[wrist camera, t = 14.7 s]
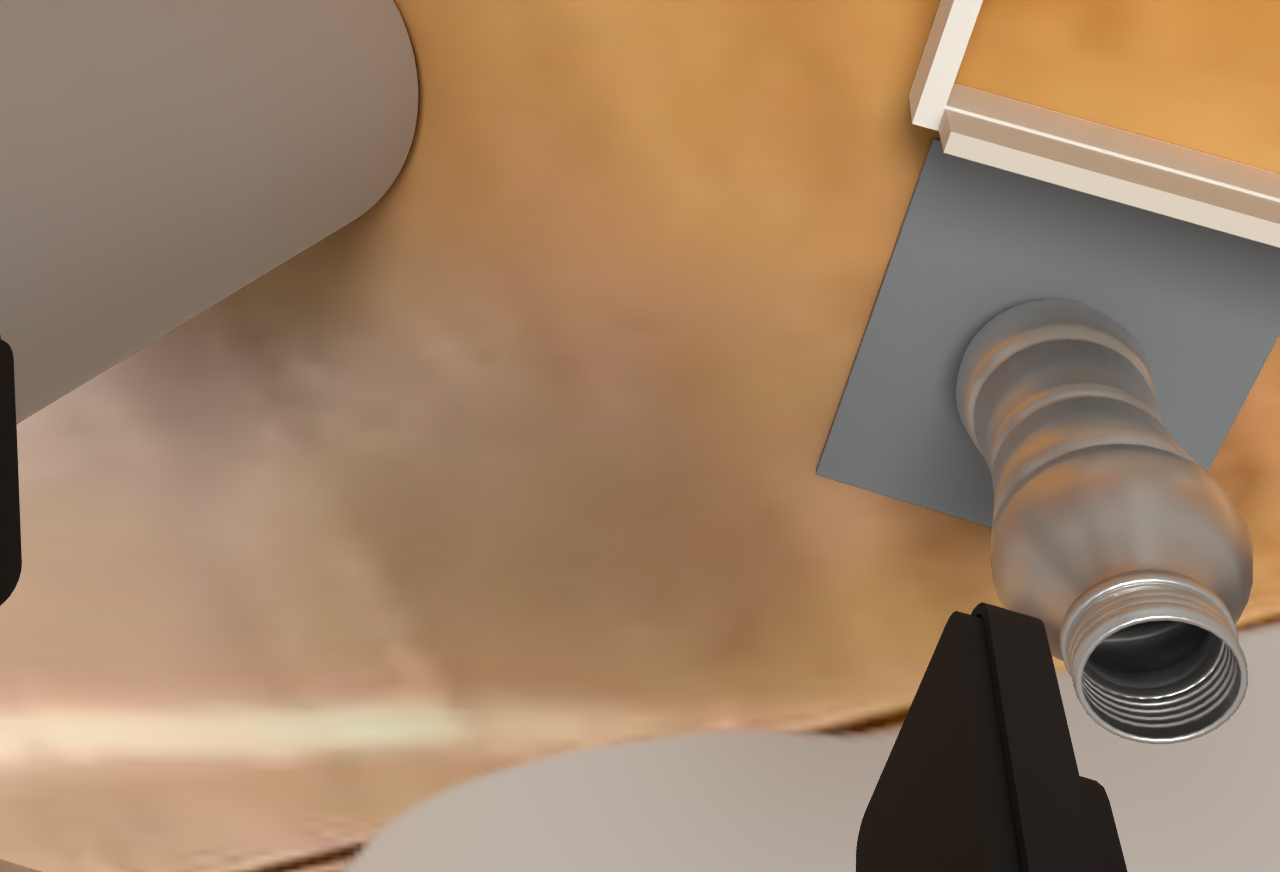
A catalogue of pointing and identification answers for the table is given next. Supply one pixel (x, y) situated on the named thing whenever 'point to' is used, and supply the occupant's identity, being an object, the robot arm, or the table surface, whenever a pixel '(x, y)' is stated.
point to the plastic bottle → (1107, 522)
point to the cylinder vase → (179, 161)
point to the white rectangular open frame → (1083, 146)
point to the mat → (1032, 271)
